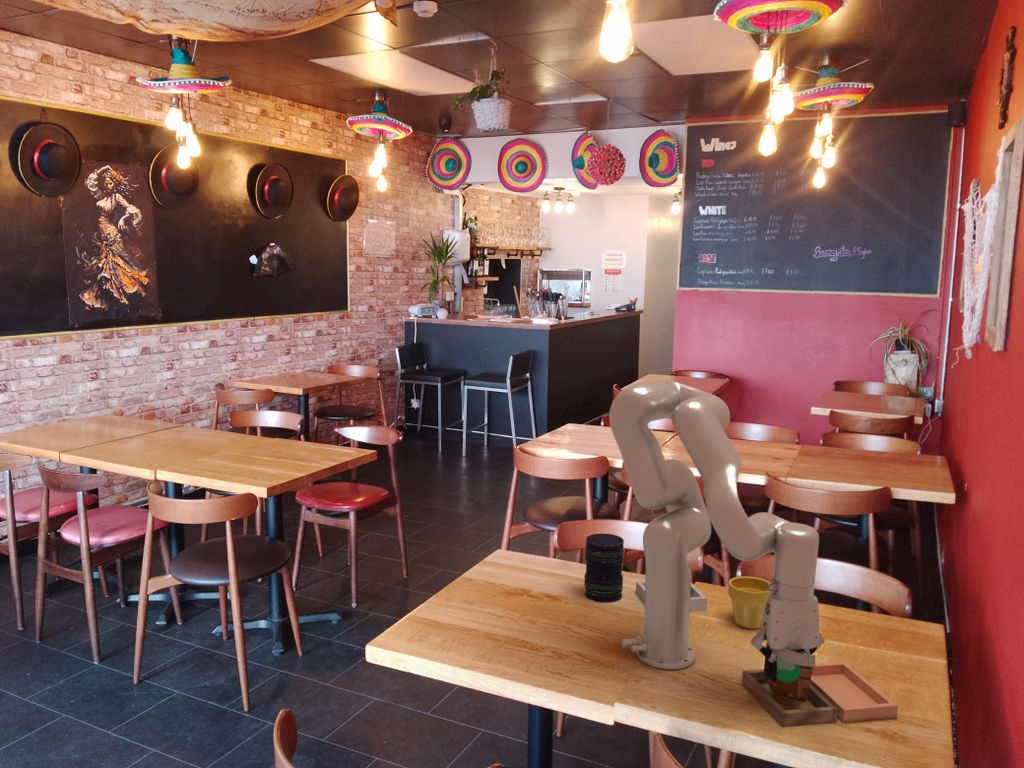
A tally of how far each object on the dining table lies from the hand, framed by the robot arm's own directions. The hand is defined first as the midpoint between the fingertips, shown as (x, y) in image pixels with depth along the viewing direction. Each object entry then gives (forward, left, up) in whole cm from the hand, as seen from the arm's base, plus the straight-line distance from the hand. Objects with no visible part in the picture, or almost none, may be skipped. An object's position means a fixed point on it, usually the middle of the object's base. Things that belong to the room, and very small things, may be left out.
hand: (784, 676), depth 151 cm
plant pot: (+10, +33, -5) cm, 35 cm away
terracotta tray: (+13, -1, -5) cm, 13 cm away
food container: (-1, 0, -3) cm, 3 cm away
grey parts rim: (-4, +48, -5) cm, 49 cm away
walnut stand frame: (+1, -1, -5) cm, 5 cm away
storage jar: (-20, +54, -5) cm, 58 cm away
